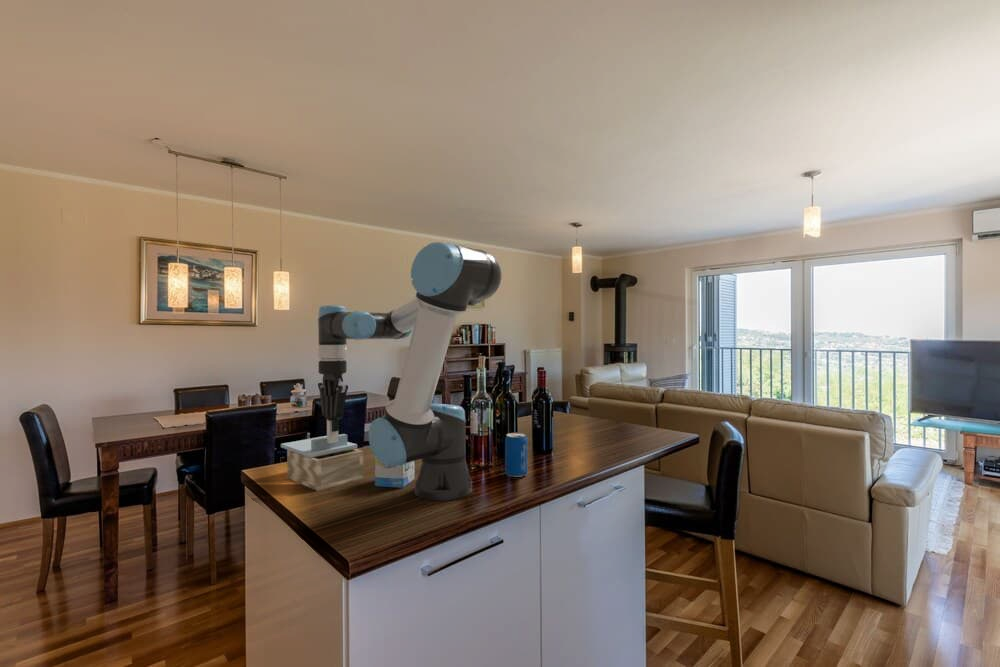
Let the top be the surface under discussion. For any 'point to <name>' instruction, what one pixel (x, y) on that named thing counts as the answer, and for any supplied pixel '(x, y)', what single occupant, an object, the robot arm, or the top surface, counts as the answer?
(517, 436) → the beverage can
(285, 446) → the lid
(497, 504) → the top surface
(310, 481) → the open wooden box
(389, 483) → the ink box
